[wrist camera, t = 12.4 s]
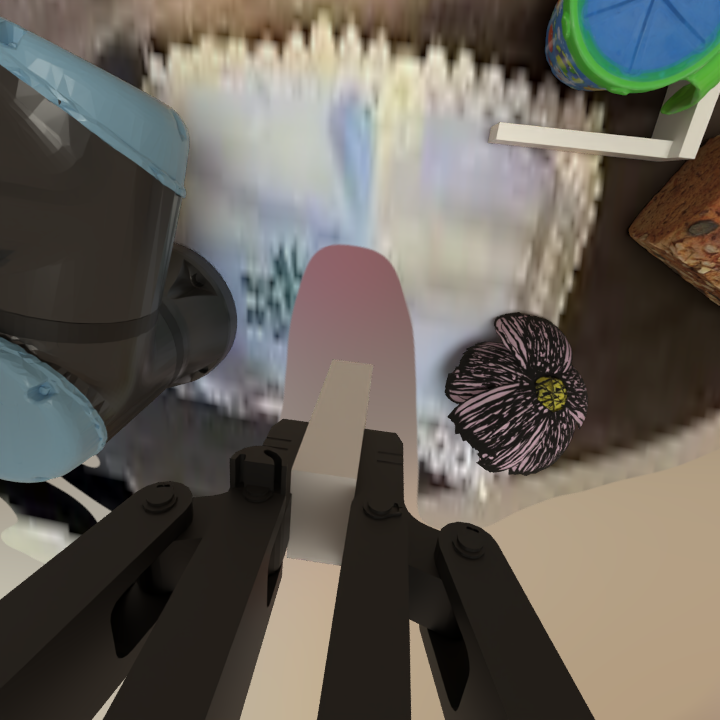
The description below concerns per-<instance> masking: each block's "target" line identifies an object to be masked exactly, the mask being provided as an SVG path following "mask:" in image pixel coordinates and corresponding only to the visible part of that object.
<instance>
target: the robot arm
mask: <svg viewBox="0 0 720 720" xmlns="http://www.w3.org/2000/svg"><path fill="white" fill-rule="evenodd" d="M189 143H190V141H189V134H188V131H187V128H186V126H185V124H184V122H183V120H182V119H181V117H180V116H179V115H178V114H177V113H176V112H175V111H174V110H173V109H172V108H171V107H169V106H168V105H166V104H165V103H163V102H161V101H159V100H158V99H156V98H154V97H152V96H151V95H149V94H147V93H145V92H143V91H142V90H140V89H138V88H136V87H134V86H132V85H131V84H129V83H127V82H125V81H123V80H121V79H119V78H118V77H116V76H114V75H112V74H110V73H108V72H106V71H105V70H103V69H101V68H99V67H97V66H95V65H93V64H92V63H90V62H88V61H86V60H84V59H82V58H80V57H78V56H76V55H74V54H72V53H71V52H69V51H67V50H65V49H63V48H61V47H59V46H57V45H55V44H54V43H52V42H50V41H48V40H46V39H44V38H42V37H40V36H38V35H36V34H34V33H32V32H30V31H27V30H26V29H24V28H22V27H21V26H19V25H17V24H15V23H13V22H11V21H9V20H7V19H5V18H3V17H1V16H0V479H3V480H8V481H14V482H27V483H30V482H42V481H47V480H49V479H52V478H56V477H61V476H63V475H65V474H67V473H69V472H70V471H72V470H73V469H74V468H76V467H77V466H79V465H80V464H82V463H83V462H85V461H86V460H87V459H89V458H90V457H92V456H94V455H96V454H97V453H98V452H99V451H101V450H102V449H103V447H104V446H105V445H106V443H107V442H108V441H109V440H110V439H111V438H112V437H113V436H114V435H116V434H117V433H118V432H119V431H120V430H121V429H122V428H123V427H124V426H126V425H127V424H128V423H129V422H130V421H131V420H132V419H133V418H134V417H135V416H137V415H138V414H139V413H140V412H141V411H142V410H143V409H144V408H145V407H147V406H148V405H149V404H150V403H151V402H152V401H153V400H154V399H155V398H157V397H158V396H159V395H160V394H161V393H162V392H163V391H164V390H165V389H166V388H170V387H174V386H178V385H181V384H185V383H189V382H192V381H195V380H197V379H200V378H201V377H203V376H205V375H207V374H208V373H209V372H211V371H212V370H213V369H214V368H215V367H216V366H217V365H218V364H219V363H220V362H221V361H222V360H223V359H224V358H225V357H226V355H227V354H228V352H229V351H230V349H231V347H232V345H233V342H234V339H235V335H236V328H237V316H236V309H235V305H234V301H233V298H232V295H231V293H230V291H229V289H228V287H227V285H226V283H225V282H224V280H223V279H222V277H221V276H220V275H219V273H218V272H217V271H216V270H215V269H214V267H213V266H212V265H211V264H209V263H208V262H207V261H206V260H205V259H204V258H202V257H201V256H200V255H198V254H197V253H195V252H193V251H192V250H190V249H188V248H186V247H183V246H181V245H178V244H175V243H173V242H174V237H175V232H176V228H177V223H178V218H179V213H180V208H181V203H182V198H185V197H186V190H185V188H184V181H185V174H186V166H187V159H188V152H189ZM372 370H373V365H372V364H363V363H356V362H348V361H341V360H332V363H331V366H330V368H329V371H328V374H327V377H326V379H325V382H324V384H323V387H322V390H321V392H320V395H319V398H318V400H317V403H316V406H315V408H314V411H313V414H312V416H311V419H310V422H303V421H296V420H288V419H282V420H281V421H279V422H278V423H277V424H275V425H274V426H272V428H271V430H270V432H269V434H268V436H267V439H265V441H264V443H263V446H252V447H247V448H244V449H242V450H240V451H238V452H236V453H235V454H234V455H233V456H232V457H231V458H230V489H229V491H228V492H226V493H223V494H219V495H213V496H204V497H193V498H192V493H191V491H190V489H189V488H188V487H187V486H185V485H183V484H181V483H177V482H171V481H169V482H158V483H155V484H152V485H148V486H146V487H144V488H142V489H141V490H139V491H137V492H136V493H135V494H133V495H132V496H131V497H130V498H128V499H127V500H126V501H124V502H123V503H122V504H121V505H119V506H118V507H117V508H116V509H114V510H113V511H112V512H111V513H109V514H108V515H107V516H106V517H104V518H103V519H102V520H100V521H99V522H98V523H97V524H95V525H94V526H93V527H92V528H90V529H89V530H88V531H87V532H85V533H84V534H83V535H81V536H80V537H79V538H78V539H76V540H75V541H74V542H73V543H71V544H70V545H69V546H68V547H66V548H65V549H64V550H63V551H61V552H60V553H59V554H57V555H56V556H55V557H54V558H52V559H51V560H50V561H49V562H47V563H46V564H45V565H44V566H42V567H41V568H40V569H38V570H37V571H36V572H35V573H33V574H32V575H31V576H30V577H28V578H27V579H26V580H25V581H23V582H22V583H21V584H20V585H18V586H17V587H16V588H14V589H13V590H12V591H11V592H9V593H8V594H7V595H6V596H4V597H3V598H2V599H1V600H0V720H92V719H93V717H94V716H95V715H96V713H97V712H98V711H99V710H100V709H101V708H102V706H103V705H104V704H105V703H106V701H107V700H108V699H109V698H110V696H111V695H112V694H113V693H114V691H115V690H116V689H117V687H118V686H119V685H120V684H121V682H122V681H123V680H124V679H125V680H124V682H123V684H122V686H121V688H120V689H119V691H118V693H117V695H116V697H115V699H114V700H113V702H112V704H111V706H110V708H109V709H108V711H107V713H106V715H105V717H104V718H103V720H240V716H241V713H242V710H243V706H244V703H245V699H246V696H247V693H248V689H249V686H250V683H251V679H252V675H253V672H254V669H255V665H256V662H257V659H258V655H259V652H260V649H261V645H262V642H263V639H264V635H265V632H266V628H267V625H268V621H269V618H270V615H271V611H272V608H273V605H274V601H275V598H276V595H277V591H278V588H279V584H280V581H281V578H282V565H283V558H284V555H285V552H286V548H287V558H293V559H299V560H306V561H313V562H319V563H326V564H333V565H339V566H341V570H340V577H339V583H338V590H337V597H336V603H335V609H334V615H333V621H332V628H331V634H330V641H329V647H328V653H327V660H326V666H325V672H324V679H323V685H322V692H321V698H320V704H319V711H318V717H317V720H411V692H410V691H411V689H410V635H409V634H410V632H409V619H410V620H412V621H414V622H416V623H418V624H419V628H420V632H421V636H422V639H423V643H424V647H425V650H426V654H427V657H428V661H429V664H430V668H431V671H432V675H433V678H434V682H435V685H436V689H437V692H438V696H439V699H440V703H441V707H442V710H443V714H444V717H445V720H595V719H594V717H593V715H592V714H591V712H590V710H589V708H588V706H587V704H586V703H585V701H584V699H583V697H582V695H581V693H580V692H579V690H578V688H577V686H576V685H575V683H574V681H573V679H572V677H571V675H570V674H569V672H568V670H567V668H566V666H565V665H564V663H563V661H562V659H561V658H560V656H559V654H558V652H557V650H556V649H555V647H554V645H553V643H552V641H551V640H550V638H549V636H548V634H547V632H546V631H545V629H544V627H543V625H542V623H541V621H540V620H539V618H538V616H537V614H536V613H535V611H534V609H533V607H532V605H531V603H530V602H529V600H528V598H527V596H526V594H525V593H524V591H523V589H522V587H521V585H520V583H519V582H518V580H517V578H516V576H515V574H514V573H513V571H512V569H511V567H510V566H509V564H508V562H507V560H506V558H505V556H504V555H503V553H502V551H501V549H500V548H499V546H498V544H497V543H496V541H495V540H494V539H493V537H492V536H491V535H490V534H488V533H487V532H485V531H484V530H483V529H482V528H480V527H478V526H475V525H473V524H470V523H464V522H455V523H450V524H447V525H446V526H444V527H443V528H442V529H441V531H439V530H437V529H434V528H432V527H429V526H427V525H425V524H423V523H421V522H419V521H418V520H416V519H415V518H414V517H413V516H412V515H411V514H410V513H409V512H408V510H407V508H406V506H405V504H404V487H403V486H404V483H403V443H402V441H401V440H400V438H399V437H398V435H397V434H396V433H391V432H383V431H376V430H369V429H365V425H366V416H367V409H368V401H369V394H370V386H371V378H372ZM126 676H127V677H126Z"/></svg>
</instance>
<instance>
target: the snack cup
mask: <svg viewBox="0 0 720 720" xmlns="http://www.w3.org/2000/svg"><path fill="white" fill-rule="evenodd" d="M545 54H546V60H547V62H548V63H549V65H550V67H551V70H552V73H553V74H554V75H555V77H556V78H558V79H559V80H560V81H561V82H563V83H564V84H566V85H568V86H569V87H570V88H573V89H576V90H584V91H601V90H608V91H609V92H611V93H614V94H620V95H627V94H628V93H643V92H648V91H652V90H656V89H659V88H662V87H665V86H668V85H671V84H673V83H675V82H677V81H679V80H686V81H688V82H690V84H688V85H685V86H683V87H682V88H681V89H680V90H678V91H677V92H676V93H675V94H674V95H673V96H671V97H670V98H669V99H668V100H667V101H666V102H665V104H664V105H663V106H662V108H661V110H660V112H661V113H662V114H666V115H671V114H675V113H678V112H681V111H683V110H686V109H688V108H690V107H692V106H693V105H695V104H696V103H698V102H699V101H700V100H701V99H702V98H703V97H704V96H705V95H706V94H707V93H708V92H709V91H710V90H711V89H712V88H714V87H715V86H716V85H717V84H718V83H719V82H720V0H558V2H557V4H556V6H555V9H554V11H553V13H552V17H551V19H550V21H549V24H548V27H547V33H546V46H545Z"/></svg>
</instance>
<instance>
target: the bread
mask: <svg viewBox="0 0 720 720" xmlns="http://www.w3.org/2000/svg"><path fill="white" fill-rule="evenodd" d="M629 234H630V236H631V237H632V238H633V239H634V240H635V241H636V242H638V243H639V244H640V245H641V246H642V247H644V248H646V249H647V250H648V251H649V252H650V253H651V254H652V255H654V256H655V257H656V258H658V259H660V260H662V261H663V262H664V263H665V264H666V265H667V266H668V267H669V268H671V269H672V270H673V272H675V273H677V274H679V275H680V276H681V277H682V278H683V279H684V280H686V281H687V282H688V283H691V284H692V285H693V286H694V287H695V288H696V289H697V290H699V291H700V292H701V293H703V294H704V295H705V296H707V297H708V298H709V299H710V300H712V301H713V302H714V303H716V304H717V305H719V306H720V135H717V136H716V137H714V138H710V139H709V140H708V141H707V143H706V144H705V145H703V146H702V147H701V148H699V149H698V152H697V154H696V157H695V159H688V160H687V161H686V162H685V163H684V164H683V166H682V167H681V168H680V170H679V171H678V172H677V173H675V174H674V175H673V176H672V177H671V179H670V180H669V181H668V182H667V183H666V185H665V186H664V187H663V188H662V189H661V190H660V191H659V192H658V193H657V194H656V195H654V197H653V198H652V200H651V201H650V202H649V203H648V204H647V205H646V207H645V208H644V209H643V210H642V211H641V212H640V213H639V215H638V216H637V217H636V219H635V220H634V221H633V223H632V224H631V226H630V228H629Z"/></svg>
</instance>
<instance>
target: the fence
mask: <svg viewBox="0 0 720 720" xmlns="http://www.w3.org/2000/svg"><path fill="white" fill-rule="evenodd" d="M688 84H690V82H688V81H686V80H679V81H677V82H675V83H673V84H671V85H669V86H668V89H667V92H666V95H665V98H664V101H663V104H662V106H663V105H664V104H665V102H666V101H667V100H668V99H669V98H670V97H671V96H673V95H674V94H675V93H676V92H677V91H678V90H680V89H681V88H682V87H683V86H685V85H688ZM719 93H720V82H719V83H718V84H717V85H716V86H715V87H714V88H712V89H711V90H710V91H709V92H708V93H707V94H706V95H705V96H704V97H703V98H702V99H701V100H700V101H699V102H698V103H696V104H695V105H693V106H692V107H690V108H688V109H686V110H683V111H681V112H678V113H675V114H671V115H666V114H662V113H661V112H660V113H659V116H658V119H657V122H656V125H655V128H654V131H653V134H652V137H651V139H649V138H640V137H631V136H621V135H612V134H603V133H594V132H585V131H576V130H566V129H557V128H548V127H539V126H530V125H520V124H511V123H502V122H499V123H498V124H496V125H494V126H492V127H491V130H490V135H489V140H488V143H494V144H503V145H512V146H521V147H530V148H539V149H548V150H557V151H566V152H575V153H584V154H593V155H602V156H611V157H620V158H629V159H639V160H648V161H657V162H660V161H674V160H687V159H695V157H696V154H697V152H698V149H699V146H700V144H701V141H702V138H703V136H704V133H705V130H706V128H707V125H708V122H709V120H710V117H711V114H712V112H713V109H714V106H715V103H716V101H717V98H718V95H719ZM661 108H662V107H661Z"/></svg>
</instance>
